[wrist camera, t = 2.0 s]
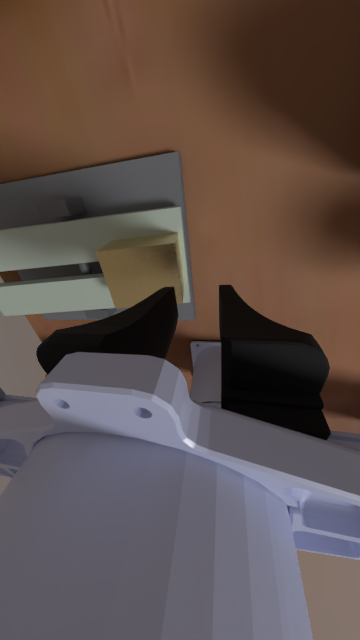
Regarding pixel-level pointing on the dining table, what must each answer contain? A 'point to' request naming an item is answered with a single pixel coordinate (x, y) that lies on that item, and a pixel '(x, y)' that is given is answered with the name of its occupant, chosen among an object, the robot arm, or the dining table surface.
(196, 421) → the robot arm
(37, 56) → the dining table surface
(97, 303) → the beam
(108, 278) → the tan block
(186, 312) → the pivot stand
